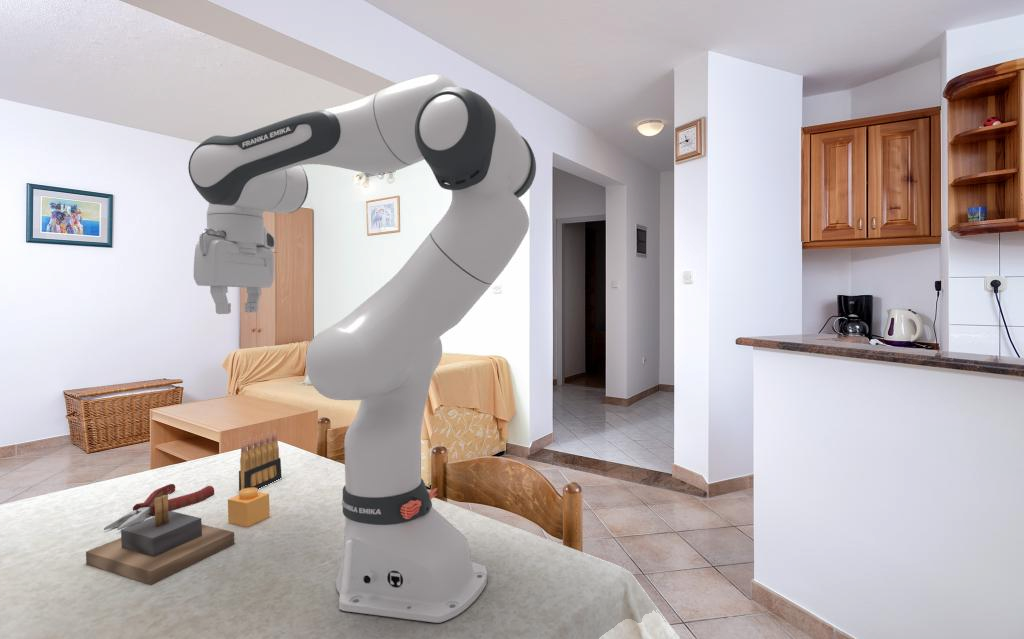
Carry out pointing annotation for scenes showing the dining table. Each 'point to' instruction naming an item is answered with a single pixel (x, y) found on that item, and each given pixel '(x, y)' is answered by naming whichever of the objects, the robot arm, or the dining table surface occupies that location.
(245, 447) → the ammunition clip
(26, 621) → the dining table surface
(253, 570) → the dining table surface
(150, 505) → the pliers
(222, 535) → the board
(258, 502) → the orange knobbed cube
